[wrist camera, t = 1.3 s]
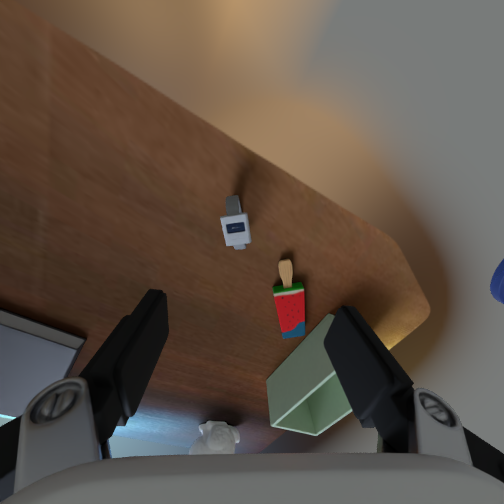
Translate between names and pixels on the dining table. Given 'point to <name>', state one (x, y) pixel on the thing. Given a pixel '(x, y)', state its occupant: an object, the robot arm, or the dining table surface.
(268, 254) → the dining table surface
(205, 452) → the rabbit
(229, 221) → the wristwatch
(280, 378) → the bin
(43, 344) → the notebook
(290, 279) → the popsicle
